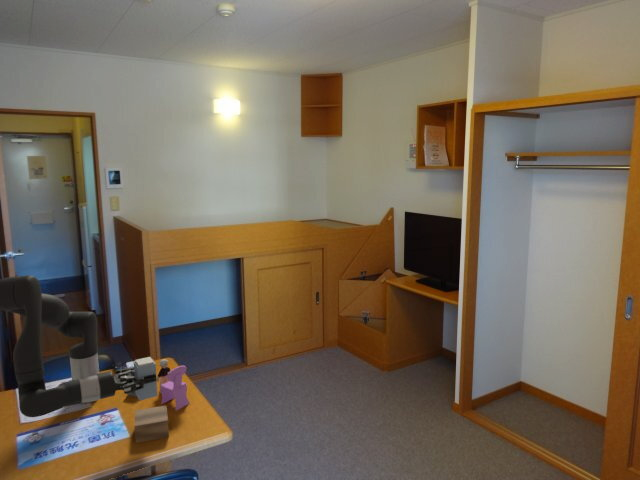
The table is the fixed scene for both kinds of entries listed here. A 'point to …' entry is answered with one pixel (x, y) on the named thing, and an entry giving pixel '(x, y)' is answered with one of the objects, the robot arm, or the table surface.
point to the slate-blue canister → (145, 369)
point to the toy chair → (175, 388)
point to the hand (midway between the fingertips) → (153, 373)
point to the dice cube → (132, 394)
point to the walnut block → (151, 424)
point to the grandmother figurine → (163, 372)
